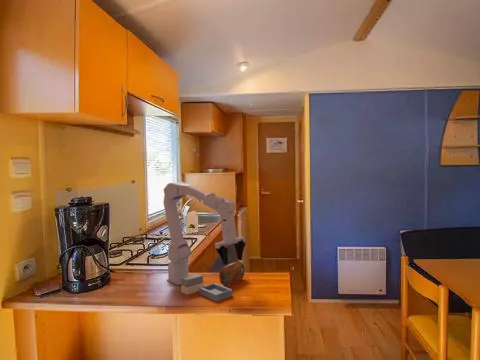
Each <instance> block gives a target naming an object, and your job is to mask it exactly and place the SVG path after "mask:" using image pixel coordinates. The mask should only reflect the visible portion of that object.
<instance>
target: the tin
mask: <svg viewBox="0 0 480 360" xmlns="http://www.w3.org/2000/svg"><path fill="white" fill-rule="evenodd" d="M245 271H246V270H245V266H244V264H243V262H241V261H233V262H232V263H228V265H224V266H223V267H221V269H220V270H219V273H218V275H219V276H218V277H219V282H220V285H222V286H225V287H230V286H233V285H235V284H236V283H239V282H241V281H242V280H243V278H244V276H245Z"/></svg>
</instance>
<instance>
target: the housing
mask: <svg viewBox="0 0 480 360" xmlns="http://www.w3.org/2000/svg"><path fill="white" fill-rule="evenodd" d="M180 286H181V288H180V289H181V293H182V294H184V295H187V296H188V295H191V294H194V293H196V292H197V293H198V292H199V288H200V287H204V276H203V275H202V274H200V273H193V274H190V275H188V276H186V277H182V278H181V284H180Z"/></svg>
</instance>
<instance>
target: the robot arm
mask: <svg viewBox="0 0 480 360" xmlns="http://www.w3.org/2000/svg"><path fill="white" fill-rule="evenodd" d="M163 193H164V196H163V207H164V212H165V217H166V223H167V226H168V232H169V238H170V242H169V245H168V246H167V247H168V253H167V256H168V257H167V258H168V260H169V262H168V266H167V272H168V273H167V274H168V275H167V277H168V278H166V281H168V282H170V283H172V284H175V285H178V286H179V285H181V278H182V277H186V276H189V257H190V256H191V253H192V250H191V247H190V246H189V243H188V241H187V240H186V239H185V238H184V235H183V230H182V224H181V218H180V214H179V210H178V205H177V204H178V203H179V201H180V200H181V199H182V198H184V197H185V196H187V195H188V196H190V197H192V198H195V199H197V200H199V201H202V203H203V205H204V206H206V207H207V208H210V209H212V210H214V211H216V212H217V214H218V215H219V219H220V225H221V232H222V240H221V241H218V242H215V243H214V247H215V250H216V252H217V253H218V255H219V257H220V258H221V261H222V264H223V265H224V266H226V265H229V259H228V251H229V248H228V246H231V245H234V249H235V253H236V257H237V260H238V261H242V260H243V254H244V251H245V250H244V249H245V247H246V237H245V236H239V237H238V236H237V229H236V221H235V213H234V211H235V210H236V204H235V202H234V201H232V200H231V199H225V197H220V196H219V195H216V193H215V192H208V193H205V192H204V191H202V190H199V189H198V188H196V187H194V186H192V185H191V184H189V183H187V182H185V181H180V182H169V183H167V184H166V185H165V187H164V188H163Z"/></svg>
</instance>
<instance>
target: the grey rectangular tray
mask: <svg viewBox="0 0 480 360" xmlns="http://www.w3.org/2000/svg"><path fill="white" fill-rule="evenodd" d="M198 292H199V295H201V296H203V297H205V298H207V299H210V300H212V301H214V302H219V301H223V300H225V299H228V298H231V297H233V289H231V288H229V287H228V286H225V285H222V284H219V283H216V282H214V283H211V284H208V285H203V287H200V288H199V291H198Z"/></svg>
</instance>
